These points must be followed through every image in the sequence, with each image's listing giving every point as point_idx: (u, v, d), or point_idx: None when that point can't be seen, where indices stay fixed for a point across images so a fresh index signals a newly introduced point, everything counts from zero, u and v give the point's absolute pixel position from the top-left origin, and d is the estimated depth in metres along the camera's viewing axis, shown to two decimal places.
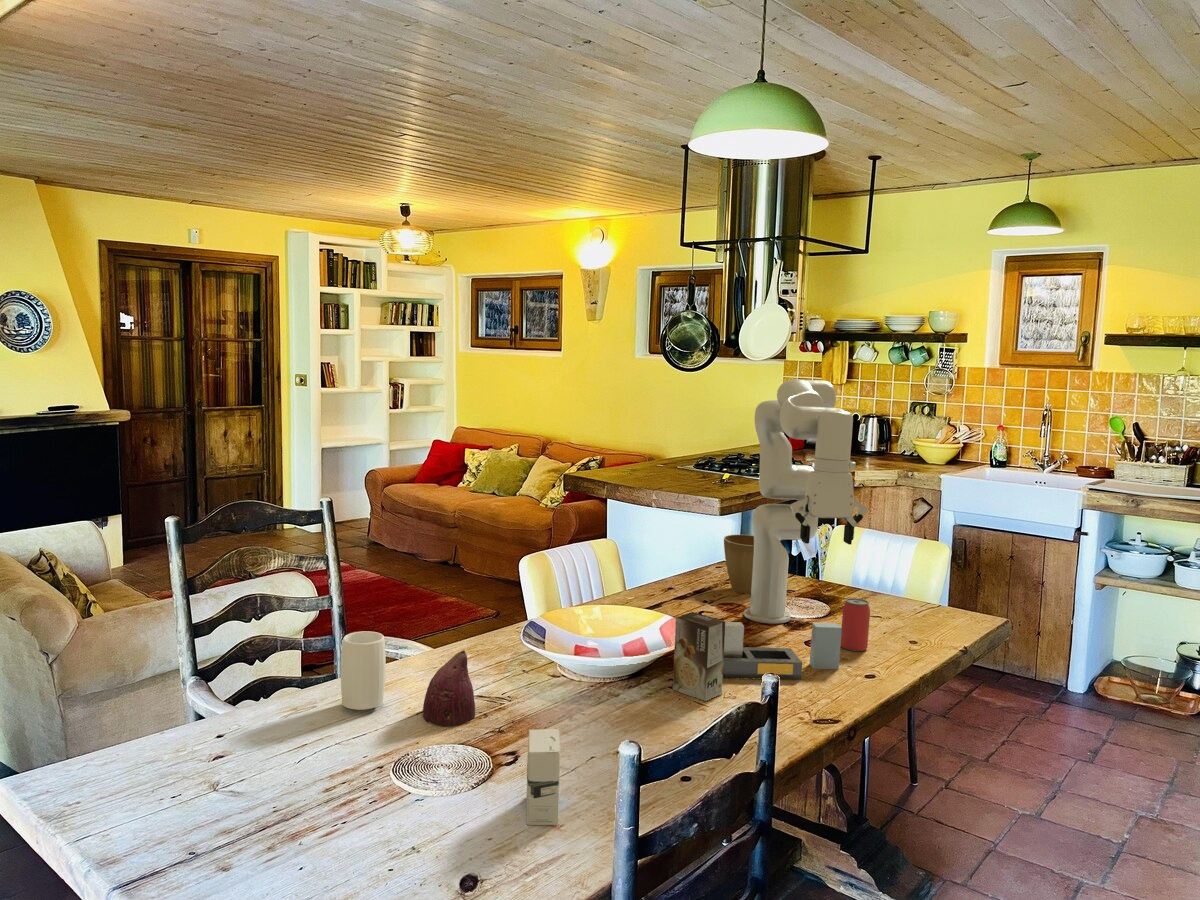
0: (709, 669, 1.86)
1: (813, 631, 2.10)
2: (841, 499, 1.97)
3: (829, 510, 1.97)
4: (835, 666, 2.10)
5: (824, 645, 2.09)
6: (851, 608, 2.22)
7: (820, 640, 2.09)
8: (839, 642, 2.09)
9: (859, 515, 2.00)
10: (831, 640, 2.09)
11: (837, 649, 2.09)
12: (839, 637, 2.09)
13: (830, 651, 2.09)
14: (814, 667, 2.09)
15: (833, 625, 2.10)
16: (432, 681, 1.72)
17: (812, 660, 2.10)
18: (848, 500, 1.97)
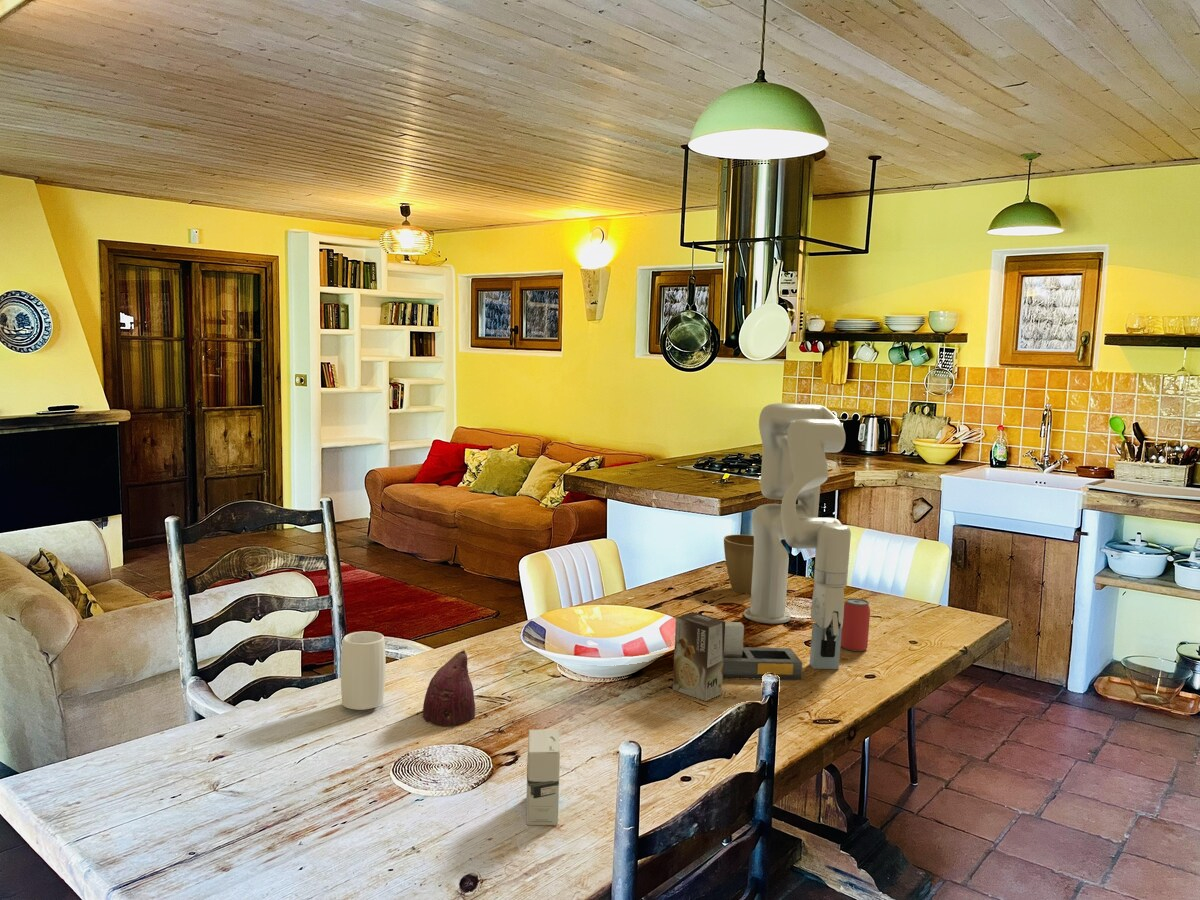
0: (709, 669, 1.86)
1: (813, 631, 2.10)
2: None
3: None
4: (835, 666, 2.09)
5: None
6: (851, 608, 2.22)
7: (820, 639, 2.08)
8: (839, 642, 2.09)
9: None
10: None
11: (837, 649, 2.09)
12: (839, 637, 2.09)
13: None
14: (814, 667, 2.09)
15: None
16: (432, 681, 1.72)
17: (812, 660, 2.10)
18: None
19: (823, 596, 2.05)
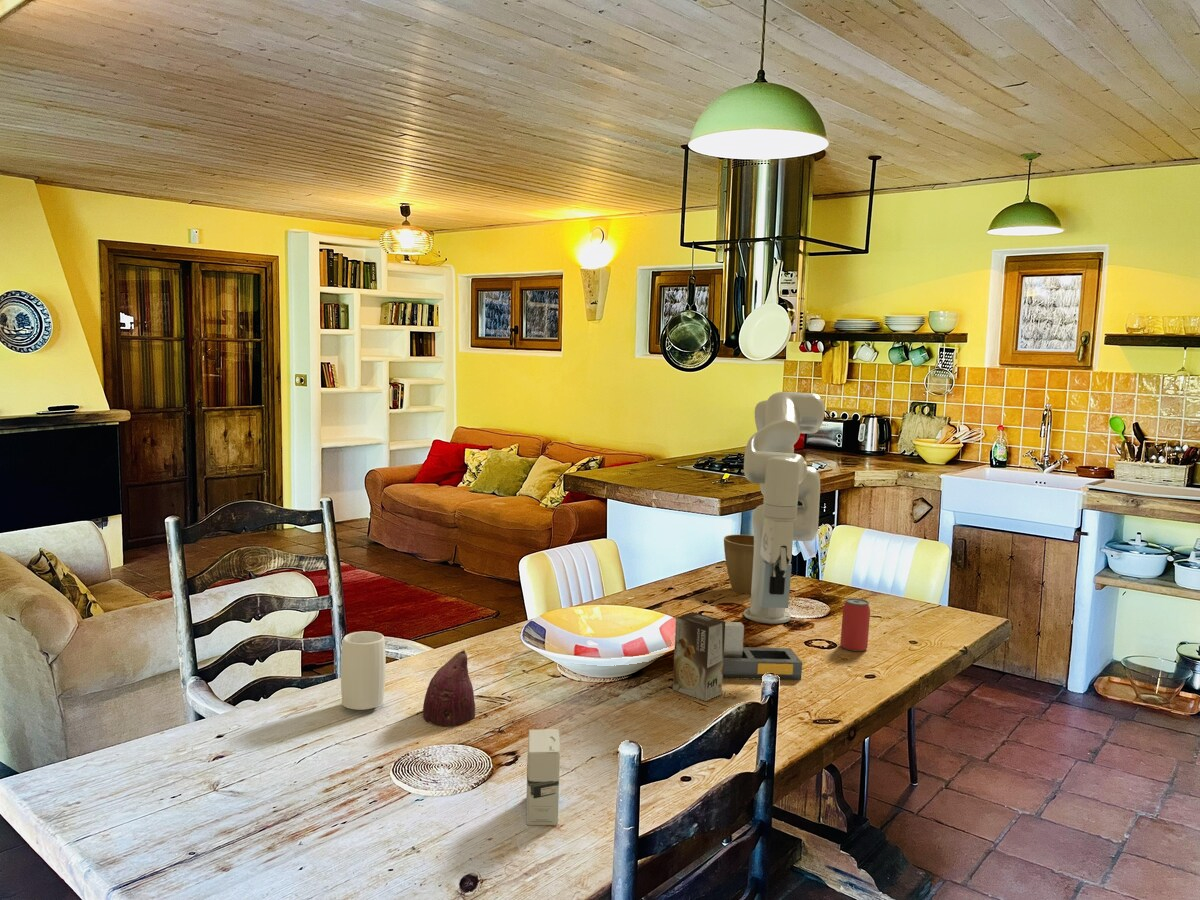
0: (709, 669, 1.86)
1: (762, 568, 2.04)
2: None
3: None
4: (785, 605, 2.03)
5: None
6: (851, 608, 2.22)
7: (769, 577, 2.02)
8: (789, 580, 2.02)
9: None
10: None
11: (787, 587, 2.02)
12: (789, 575, 2.02)
13: None
14: (763, 605, 2.03)
15: None
16: (432, 681, 1.72)
17: (761, 598, 2.03)
18: None
19: (771, 530, 1.99)
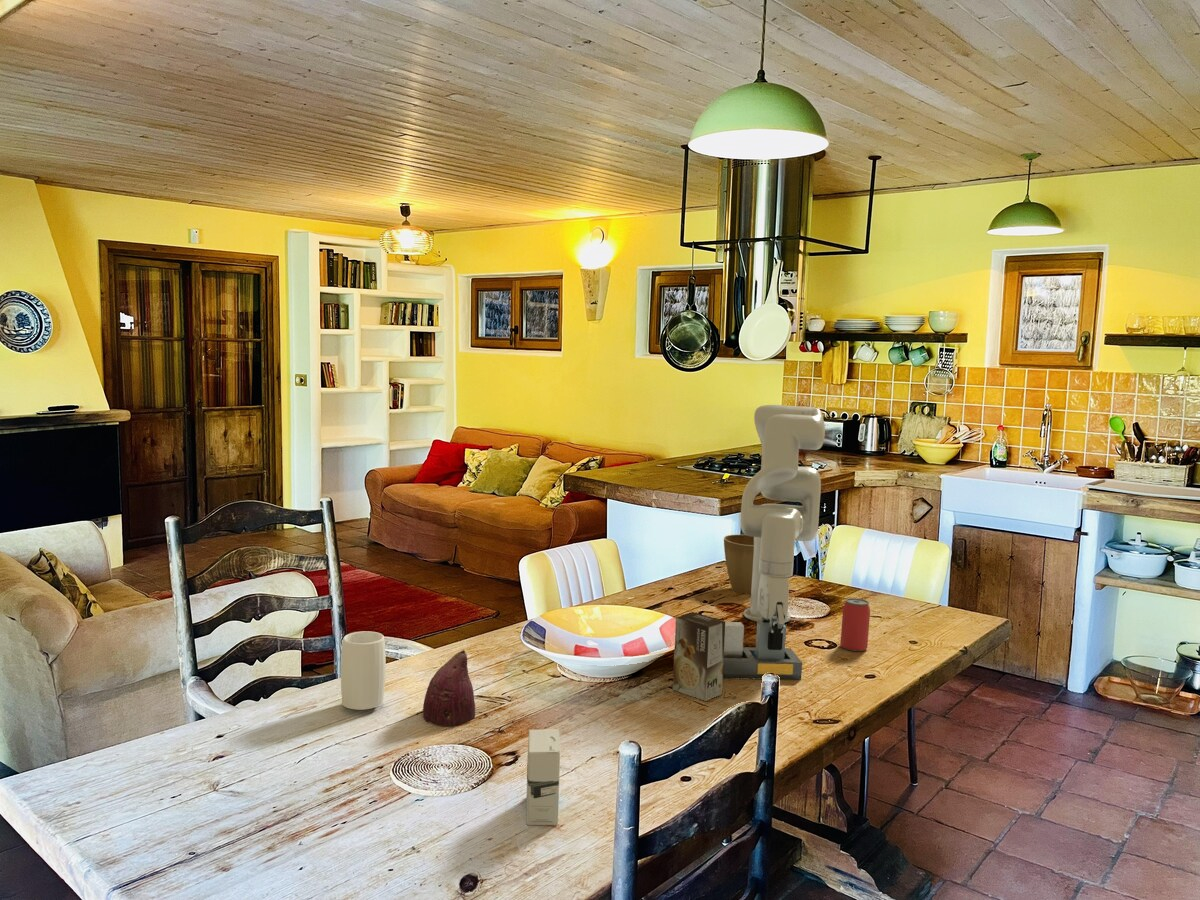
0: (709, 669, 1.86)
1: (757, 630, 2.05)
2: None
3: None
4: None
5: None
6: (851, 608, 2.22)
7: (764, 639, 2.04)
8: (784, 642, 2.04)
9: None
10: None
11: (782, 649, 2.04)
12: (784, 637, 2.04)
13: (774, 651, 2.04)
14: None
15: None
16: (432, 681, 1.72)
17: None
18: None
19: (767, 586, 2.00)
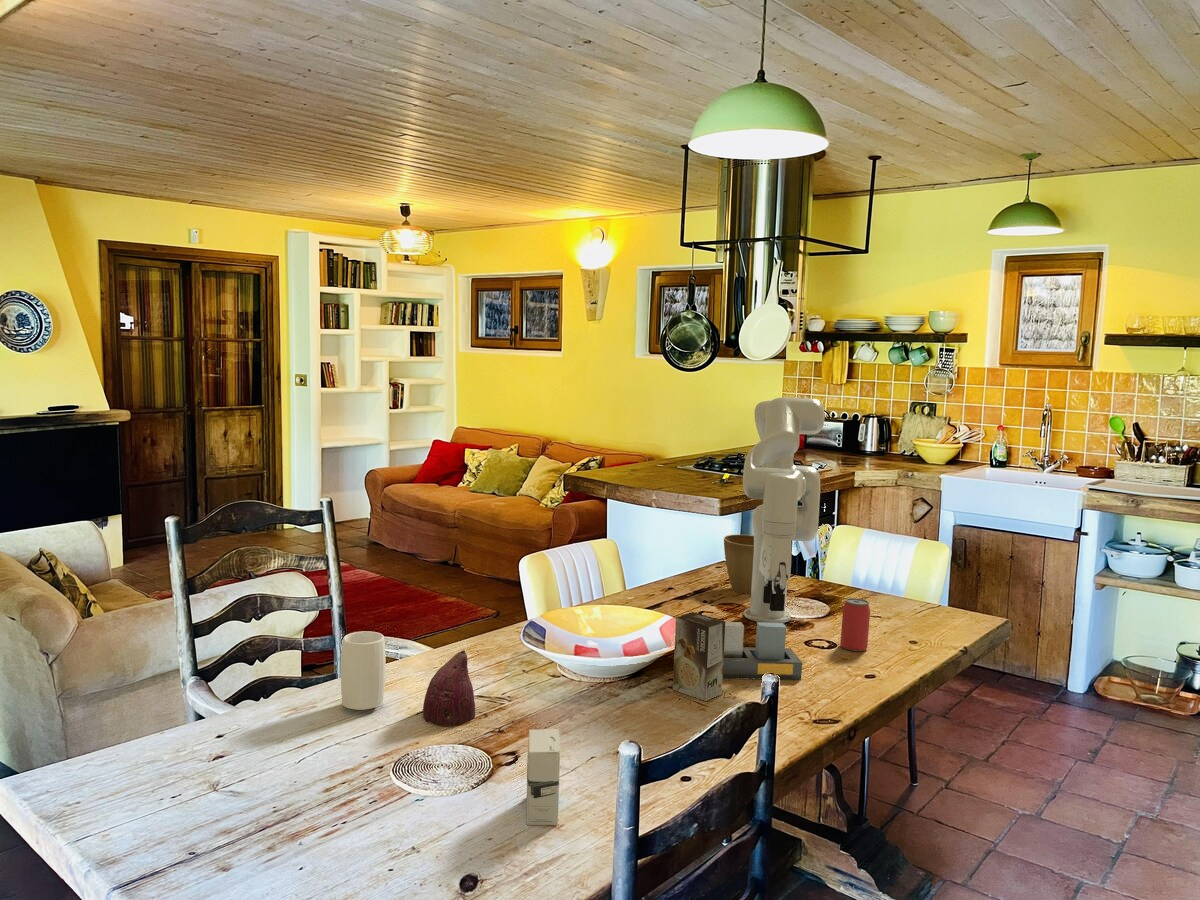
0: (709, 669, 1.86)
1: (757, 631, 2.05)
2: None
3: None
4: None
5: (768, 645, 2.04)
6: (851, 608, 2.22)
7: (764, 639, 2.04)
8: (784, 642, 2.04)
9: None
10: (775, 640, 2.04)
11: (782, 649, 2.04)
12: (784, 637, 2.04)
13: (774, 651, 2.04)
14: None
15: (778, 624, 2.05)
16: (432, 681, 1.72)
17: None
18: None
19: (770, 547, 1.99)
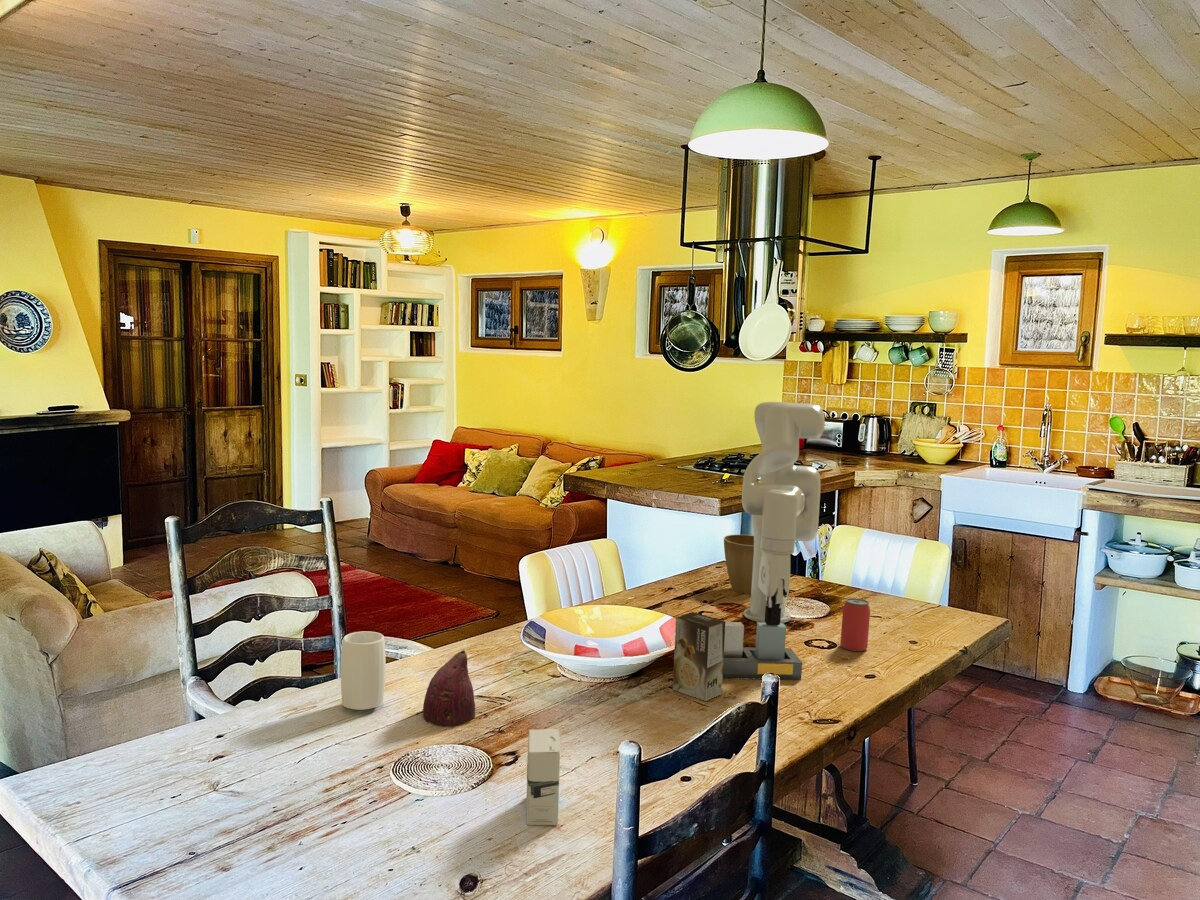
0: (709, 669, 1.86)
1: (757, 631, 2.05)
2: None
3: None
4: None
5: (768, 645, 2.04)
6: (851, 608, 2.22)
7: (764, 639, 2.04)
8: (784, 642, 2.04)
9: None
10: (775, 640, 2.04)
11: (782, 649, 2.04)
12: (784, 637, 2.04)
13: (774, 651, 2.04)
14: None
15: None
16: (432, 681, 1.72)
17: None
18: None
19: (769, 564, 1.99)
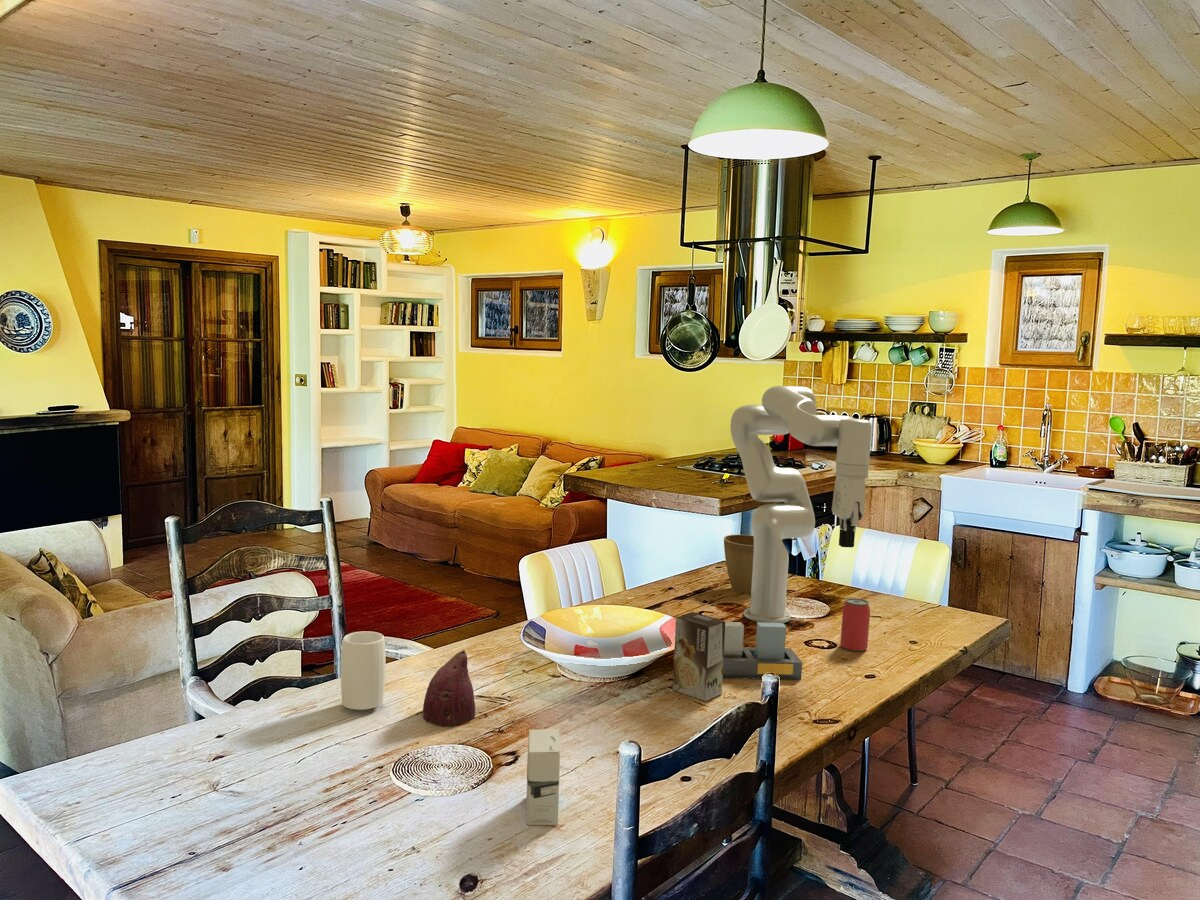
0: (709, 669, 1.86)
1: (757, 631, 2.05)
2: None
3: None
4: None
5: (768, 645, 2.04)
6: (851, 608, 2.22)
7: (764, 639, 2.04)
8: (784, 642, 2.04)
9: None
10: (775, 640, 2.04)
11: (782, 649, 2.04)
12: (784, 637, 2.04)
13: (774, 651, 2.04)
14: None
15: (778, 624, 2.05)
16: (432, 681, 1.72)
17: None
18: None
19: (845, 487, 2.11)
